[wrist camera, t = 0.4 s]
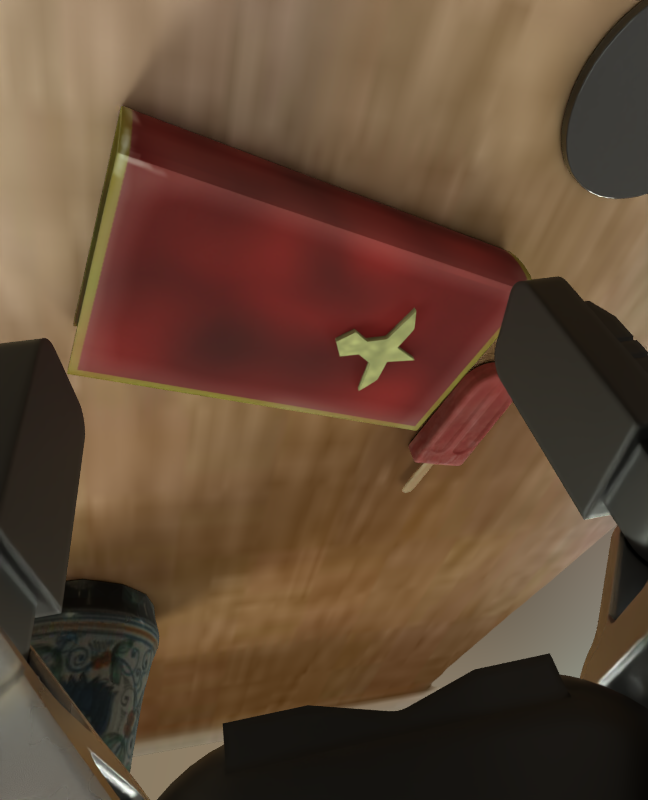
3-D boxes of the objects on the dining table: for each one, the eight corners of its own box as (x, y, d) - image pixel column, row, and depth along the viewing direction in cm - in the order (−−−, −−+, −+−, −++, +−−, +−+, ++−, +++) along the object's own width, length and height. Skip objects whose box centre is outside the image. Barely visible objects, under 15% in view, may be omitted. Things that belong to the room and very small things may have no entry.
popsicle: (385, 499, 47) (484, 372, 38) (379, 482, 48) (474, 354, 39) (430, 501, 49) (535, 381, 39) (424, 484, 50) (524, 363, 41)
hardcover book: (123, 97, 22) (119, 144, 20) (509, 245, 32) (542, 291, 29) (74, 320, 30) (66, 377, 27) (399, 387, 39) (417, 434, 37)
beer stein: (173, 576, 54) (183, 929, 38) (140, 652, 66) (137, 941, 50) (-30, 579, 47) (-122, 1012, 31) (-24, 663, 60) (-87, 1001, 44)
